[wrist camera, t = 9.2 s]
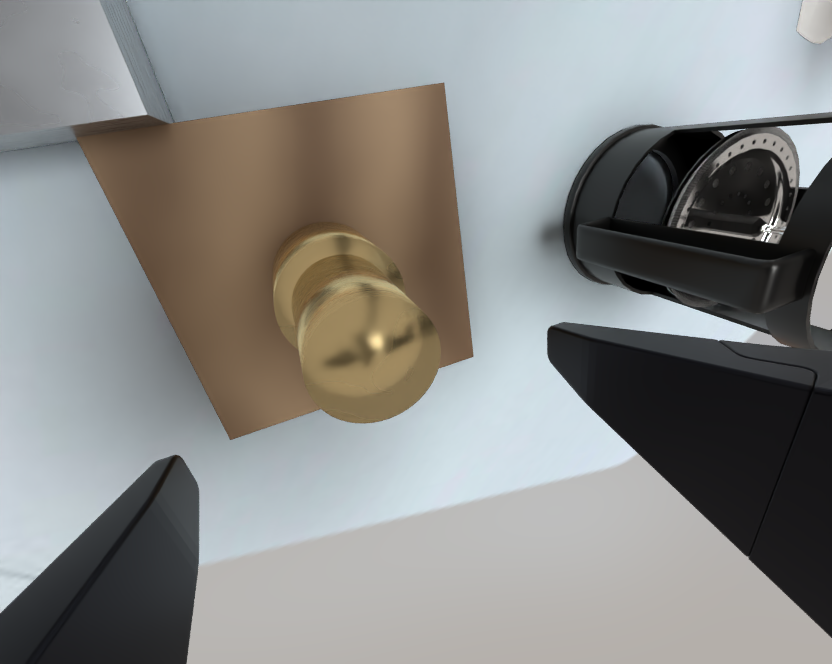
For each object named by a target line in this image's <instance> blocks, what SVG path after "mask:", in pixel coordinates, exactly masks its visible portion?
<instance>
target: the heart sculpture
mask: <svg viewBox="0 0 832 664" xmlns="http://www.w3.org/2000/svg"><path fill="white" fill-rule="evenodd" d="M796 31H797V32H798V33H799V34H800V35H802V36H803V37H804V38H805V39H807V40H808V41H810V42H812V43H817V44H821V43H823V42H825V41H826V40H828V39H829V38H831V37H832V0H803V1H802V6H801V11H800V16H799V20H798V25H797V30H796Z"/></svg>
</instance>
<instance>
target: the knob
mask: <svg viewBox="0 0 832 664" xmlns="http://www.w3.org/2000/svg"><path fill="white" fill-rule="evenodd" d="M272 277H273V297H274V310H275V316H276V319H277V323H278V325H279V327H280V329H281V331H282V333H283V334H284V336H285V337H286V338H287V340H288V341H289V342H290V343H291V344H292V345H293V346H294V347H295V348H297V349H298V350H299V355H300V361H301V367H302V373H303V379H304V383H305V386H306V389H307V391H308V393H309V395H310V397H311V398H312V400H313V401H314V402H315V403H316V405H317V406H318V407H319V408H321V409H322V410H323V411H324V412H326V413H327V414H329V415H331V416H332V417H335V418H337V419H339V420H343V421H346V422H352V423H373V422H378V421H383V420H386V419H389V418H392V417H394V416H396V415H398V414H400V413H402V412H404V411H405V410H407V409H408V408H410V407H411V406H413V405H414V404H415V403H416V402H417V401H418V400H419V399H420V398H421V397H422V396H423V395H424V394H425V393H426V391H427V390H428V389H429V387H430V386H431V384H432V382H433V380H434V378H435V376H436V374H437V371H438V368H439V363H440V357H441V347H440V340H439V336H438V333H437V330H436V328H435V326H434V325H433V323H432V321H431V320H430V319H429V318H428V316H427V315H426V314H425V313H424V312H423V311H422V310H421V309H420V308H419V307H418V306H417V305H416V304H415V303H413V302H412V301H411V300H410V299H409V298H408V297H407V296H406V294H405V286H404V282H403V279H402V276H401V274H400V271H399V270H398V268H397V266H396V265H395V263H394V262H393V261H392V259H391V258H390V257H389V256H388V255H387V254H386V253H385V252H383V251H382V250H381V249H379V248H378V247H377V246H376V245H374V244H373V243H372V242H371V241H369V240H368V239H367V238H365V237H364V236H363V235H362V234H360V233H359V232H358V231H356V230H354V229H353V228H351V227H349V226H346V225H343V224H339V223H334V222H318V223H313V224H310V225H306V226H304V227H302V228H300V229H298V230H297V231H295V232H294V233H292V234H291V235H290V236H289V237H288V238H287V239H286V240H285V241H284V242H283V244H282V245H281V247H280V248H279V250H278V252H277V254H276V257H275V260H274V264H273V276H272Z"/></svg>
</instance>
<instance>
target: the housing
mask: <svg viewBox="0 0 832 664" xmlns="http://www.w3.org/2000/svg"><path fill="white" fill-rule="evenodd" d="M170 123H174V121H173V119H172V116H171V114H170V111H169V109H168V106H167V104H166V101H165V99H164V96H163V93H162V91H161V88H160V86H159V83H158V81H157V78H156V76H155V73H154V71H153V68H152V66H151V63H150V61H149V58H148V56H147V53H146V51H145V48H144V46H143V43H142V41H141V38H140V36H139V33H138V31H137V28H136V26H135V23H134V21H133V18H132V16H131V13H130V11H129V8H128V6H127V3H126V1H125V0H0V152H6V151H12V150H19V149H25V148H32V147H39V146H45V145H52V144H59V143H65V142H72V141H78V140H77V138H76V137H83V136H90V135H96V134H103V133H110V132H117V131H123V130H130V129H137V128H143V127H150V126H157V125H164V124H170Z"/></svg>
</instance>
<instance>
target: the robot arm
mask: <svg viewBox="0 0 832 664" xmlns="http://www.w3.org/2000/svg"><path fill="white" fill-rule="evenodd" d="M547 354H548V358H549V360H550V362H551V364H552V365H553V366H554V367H555V368H556V369H557V371H558V372H559V373H560V374H561V375H562V376H563V378H564V379H565V380H566V381H567V382H568V383H569V385H570V386H571V387H572V388H573V389H574V390H575V392H576V393H577V394H578V395H579V396H580V397H581V398H582V400H583V401H584V402H585V403H586V404H587V405H588V406H589V407H590V408H591V409H592V410H593V411H594V412H595V413H596V414H597V415H598V416H599V417H600V418H601V419H603V420H604V421H605V422H606V423H607V424H608V425H609V426H610V427H611V428H612V429H613V430H614V431H615V432H616V433H617V434H618V435H619V436H620V437H621V438H622V439H624V440H625V441H626V442H627V443H628V444H629V445H630V446H631V447H632V448H633V449H634V450H635V451H636V452H637V453H638V454H639V455H640V456H642V458H644V459H645V460H646V461H647V462H648V463H649V464H650V465H651V466H652V467H653V468H654V469H655V470H656V471H657V472H658V473H659V474H660V475H661V476H662V477H664V478H665V479H666V480H667V481H668V482H669V483H670V484H671V485H672V486H673V487H674V488H675V489H676V490H677V491H678V492H680V494H681V495H682V496H683V497H685V498H686V499H687V500H688V501H689V502H690V503H691V504H692V505H693V506H694V507H695V508H696V509H697V510H698V511H699V512H700V513H701V514H702V515H704V517H706V518H707V519H708V520H709V521H710V522H711V523H712V524H713V525H714V526H715V527H716V528H717V529H718V530H719V531H720V532H721V533H722V534H723V535H724V536H726V537H727V538H728V539H729V540H730V541H731V542H732V543H733V544H734V545H735V546H736V547H737V548H738V549H739V550H740V551H741V552H742V553H743V554H744V555H746V556H749V560H750V561H751V562H752V563H754V564H755V565H756V566H757V567H758V568H759V569H760V570H761V571H762V572H763V573H764V574H765V575H766V576H767V577H768V578H769V579H770V580H771V581H772V582H773V583H775V584H776V585H777V586H778V587H779V588H780V589H781V590H782V591H783V592H784V593H785V594H786V595H787V596H788V597H789V598H790V599H791V600H792V601H794V603H796V604H797V605H798V606H799V607H800V608H801V609H802V610H803V611H804V612H805V613H806V614H807V615H808V616H809V617H810V618H811V619H812V620H814V622H815V623H817V624H818V625H819V626H820V627H821V628H822V629H823V630H824V631H825V632H826V633H827V634H828V635H829V636H830V637H831V638H832V351H830V350H817V349H805V348H793V347H781V346H769V345H760V344H751V343H741V342H732V341H724V340H720V341H718V340H714V339H706V338H697V337H688V336H680V335H671V334H662V333H654V332H645V331H636V330H628V329H619V328H610V327H602V326H593V325H584V324H575V323H567V322H562V323H559V324H556V325H553V326H551V327H549V329H548V331H547ZM198 564H199V488H198V484H197V482H196V480H195V478H194V477H193V475H192V473H191V472H190V470H189V468H188V467H187V465H186V463H185V462H184V460H183V459H182V458H181V457H180V456H178V455H173V456H170V457H167V458H164V459H161V460H158V461H156V462H155V463H153V464H152V465H151V466H150V467H149V468H148V469H147V470H146V471H145V472H144V473H143V474H142V475H141V476H140V477H139V478H138V479H137V480H136V481H135V482H134V483H133V484H132V485H131V486H130V487H129V488H128V489H127V490H126V491H125V492H124V493H123V494H122V495H121V496H120V497H119V498H118V499H117V500H116V501H115V502H114V503H113V504H112V505H111V506H109V507H108V508H107V509H106V510H105V511H104V512H103V513H102V514H101V515H100V516H99V517H98V518H97V519H96V520H95V521H94V522H93V523H92V524H91V525H90V526H89V527H88V528H87V529H86V530H85V531H84V532H83V533H82V534H81V535H80V536H79V537H78V538H77V539H76V540H75V541H74V542H73V543H72V544H71V545H70V546H69V547H68V548H67V549H66V550H65V551H63V552H62V553H61V554H60V555H59V556H58V557H57V558H56V559H55V560H54V561H53V562H52V563H51V564H50V565H49V566H48V567H47V568H46V569H45V570H44V571H43V572H42V573H41V574H40V575H39V576H38V577H37V578H36V579H35V580H34V581H33V582H32V583H31V584H30V585H29V586H28V587H27V588H26V589H25V590H24V591H23V592H22V593H21V594H20V595H19V596H17V597H16V598H15V599H14V600H13V601H12V602H11V603H10V604H9V605H8V606H7V607H6V608H5V609H4V610H3V611H2V612H1V613H0V664H186V663H187V655H188V647H189V639H190V630H191V622H192V615H193V607H194V599H195V591H196V582H197V575H198Z"/></svg>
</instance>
